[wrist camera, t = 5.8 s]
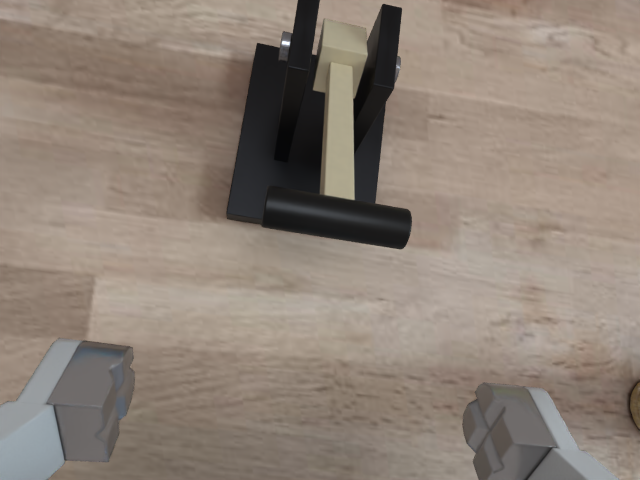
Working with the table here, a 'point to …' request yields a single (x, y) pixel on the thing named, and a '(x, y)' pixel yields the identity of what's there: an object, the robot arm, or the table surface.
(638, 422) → the sprinkles bottle
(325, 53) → the lever
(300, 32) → the bracket
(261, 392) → the table surface
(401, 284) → the table surface
